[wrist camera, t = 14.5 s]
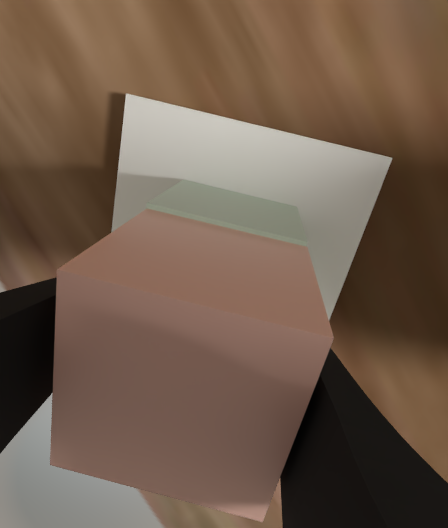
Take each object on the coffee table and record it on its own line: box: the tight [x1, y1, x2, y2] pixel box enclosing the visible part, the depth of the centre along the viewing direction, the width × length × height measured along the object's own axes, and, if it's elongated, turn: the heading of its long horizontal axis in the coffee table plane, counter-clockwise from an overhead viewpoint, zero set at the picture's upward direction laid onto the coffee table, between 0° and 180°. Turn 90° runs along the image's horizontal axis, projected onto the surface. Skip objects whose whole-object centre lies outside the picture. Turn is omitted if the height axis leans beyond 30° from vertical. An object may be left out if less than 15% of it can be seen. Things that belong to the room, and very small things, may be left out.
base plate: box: [111, 94, 392, 320], centre depth 17 cm, size 11×11×1 cm
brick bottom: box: [146, 180, 308, 246], centre depth 14 cm, size 5×5×5 cm
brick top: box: [50, 209, 334, 522], centre depth 10 cm, size 5×5×5 cm
